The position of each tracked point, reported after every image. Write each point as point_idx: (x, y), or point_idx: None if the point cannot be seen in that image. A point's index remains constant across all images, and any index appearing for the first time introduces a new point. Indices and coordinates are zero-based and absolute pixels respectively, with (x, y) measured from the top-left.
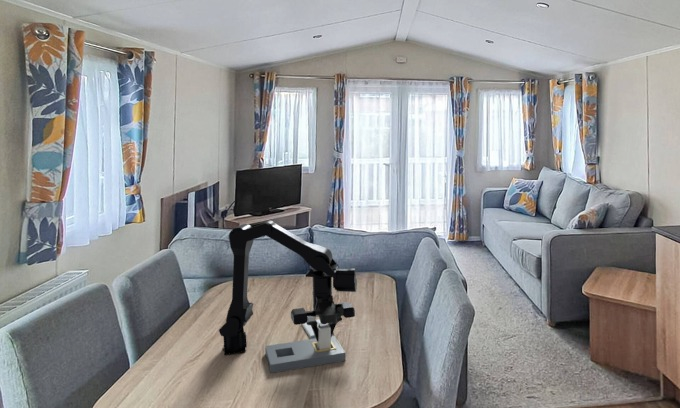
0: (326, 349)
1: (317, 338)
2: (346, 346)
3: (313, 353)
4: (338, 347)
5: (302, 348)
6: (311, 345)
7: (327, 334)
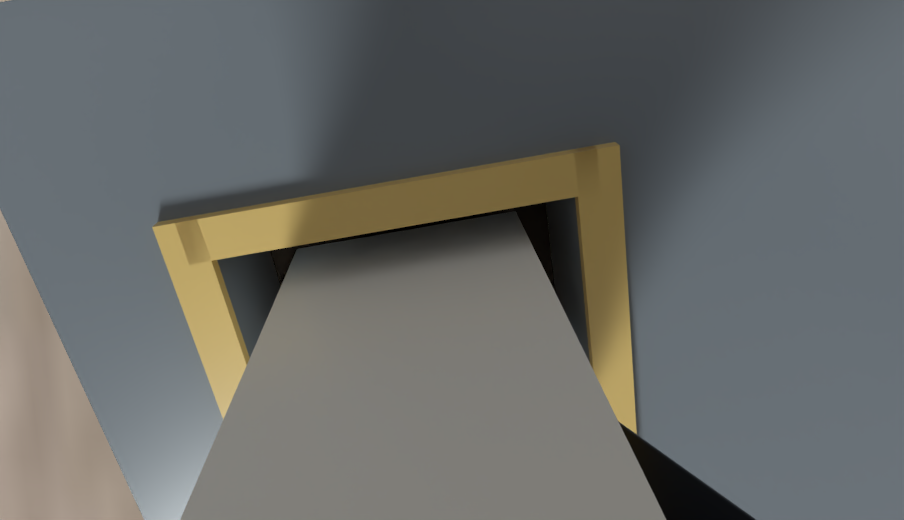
0: (381, 216)
1: None
2: (57, 477)
3: (684, 101)
4: (112, 287)
5: (843, 339)
6: (655, 424)
7: (303, 510)
